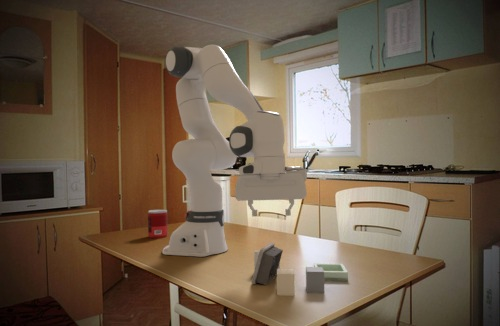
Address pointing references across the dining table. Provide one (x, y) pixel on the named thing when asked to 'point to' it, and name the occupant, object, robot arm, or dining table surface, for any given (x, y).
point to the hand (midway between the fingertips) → (271, 215)
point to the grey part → (315, 280)
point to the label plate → (256, 254)
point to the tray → (334, 272)
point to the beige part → (285, 282)
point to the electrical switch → (267, 264)
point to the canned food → (157, 223)
